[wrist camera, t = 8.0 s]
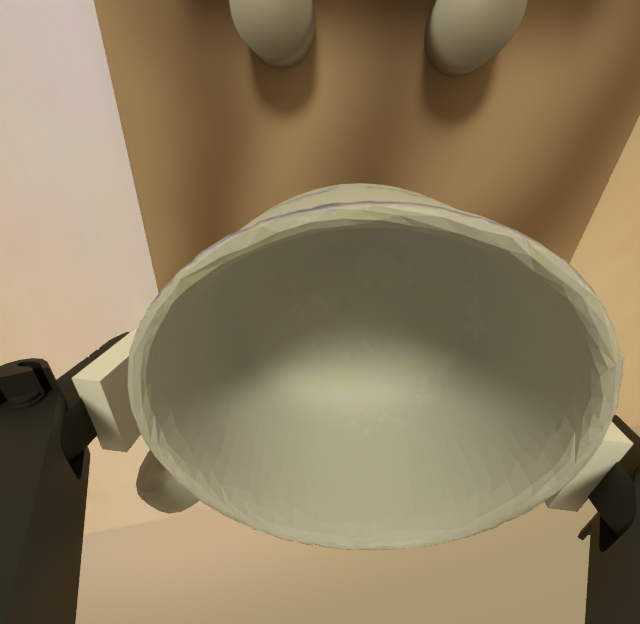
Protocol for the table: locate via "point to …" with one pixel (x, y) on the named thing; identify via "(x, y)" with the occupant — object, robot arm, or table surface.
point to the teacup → (371, 373)
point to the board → (370, 108)
